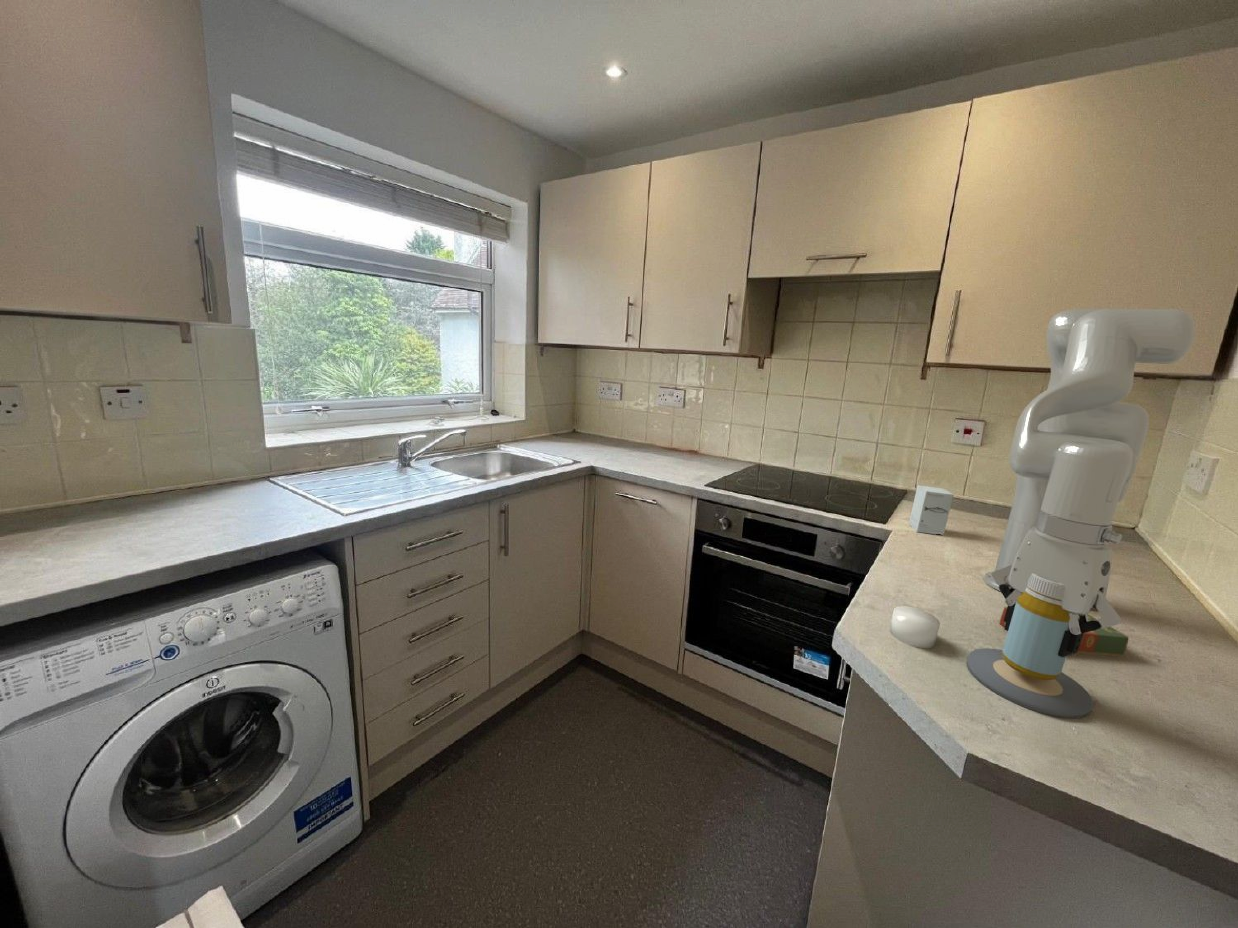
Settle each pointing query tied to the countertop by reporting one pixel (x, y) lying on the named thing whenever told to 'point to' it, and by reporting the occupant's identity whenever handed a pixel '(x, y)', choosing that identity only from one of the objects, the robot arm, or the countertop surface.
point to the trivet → (1029, 686)
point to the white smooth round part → (914, 627)
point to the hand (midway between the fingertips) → (1037, 640)
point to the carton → (1097, 640)
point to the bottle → (1037, 630)
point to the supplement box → (930, 510)
